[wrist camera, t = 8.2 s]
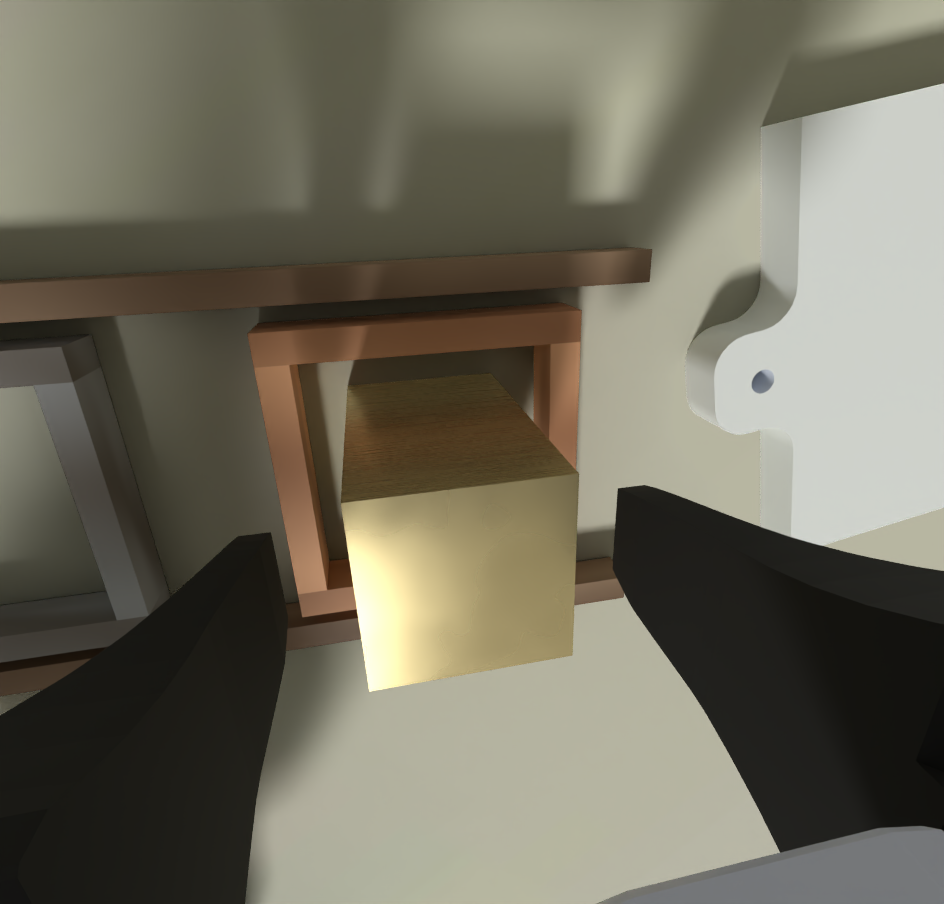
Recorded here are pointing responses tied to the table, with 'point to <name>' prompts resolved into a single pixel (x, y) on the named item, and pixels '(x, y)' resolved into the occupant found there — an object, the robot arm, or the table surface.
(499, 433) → the brass block
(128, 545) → the socket rail
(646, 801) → the table surface
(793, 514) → the mounting plate
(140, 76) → the table surface
